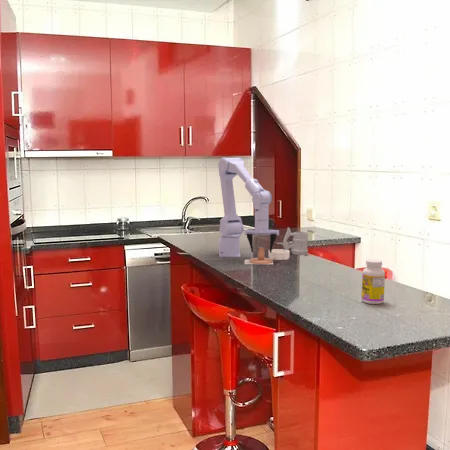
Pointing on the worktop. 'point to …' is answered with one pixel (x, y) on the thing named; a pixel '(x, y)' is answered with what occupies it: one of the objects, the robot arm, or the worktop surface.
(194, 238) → the worktop surface
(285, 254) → the bowl
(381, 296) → the supplement bottle
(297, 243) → the mug
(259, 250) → the lid
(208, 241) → the worktop surface
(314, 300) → the worktop surface
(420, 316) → the worktop surface
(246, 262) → the mat
